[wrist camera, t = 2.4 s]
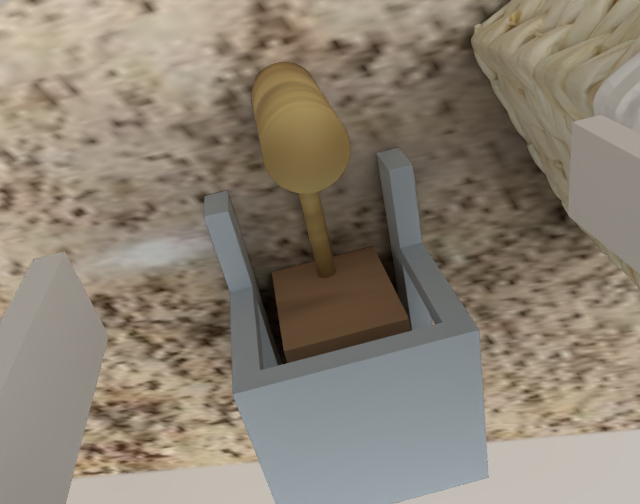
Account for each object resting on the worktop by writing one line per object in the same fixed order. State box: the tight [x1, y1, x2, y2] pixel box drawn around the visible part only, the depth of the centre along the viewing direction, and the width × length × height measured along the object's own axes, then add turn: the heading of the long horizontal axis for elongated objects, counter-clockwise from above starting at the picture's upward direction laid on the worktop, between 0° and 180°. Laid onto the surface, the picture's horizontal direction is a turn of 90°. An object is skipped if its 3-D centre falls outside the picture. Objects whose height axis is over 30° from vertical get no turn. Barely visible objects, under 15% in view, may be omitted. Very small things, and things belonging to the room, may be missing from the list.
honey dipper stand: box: [251, 62, 411, 363], centre depth 27 cm, size 17×6×8 cm, turn 11°
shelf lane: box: [204, 147, 489, 504], centre depth 28 cm, size 14×10×10 cm
